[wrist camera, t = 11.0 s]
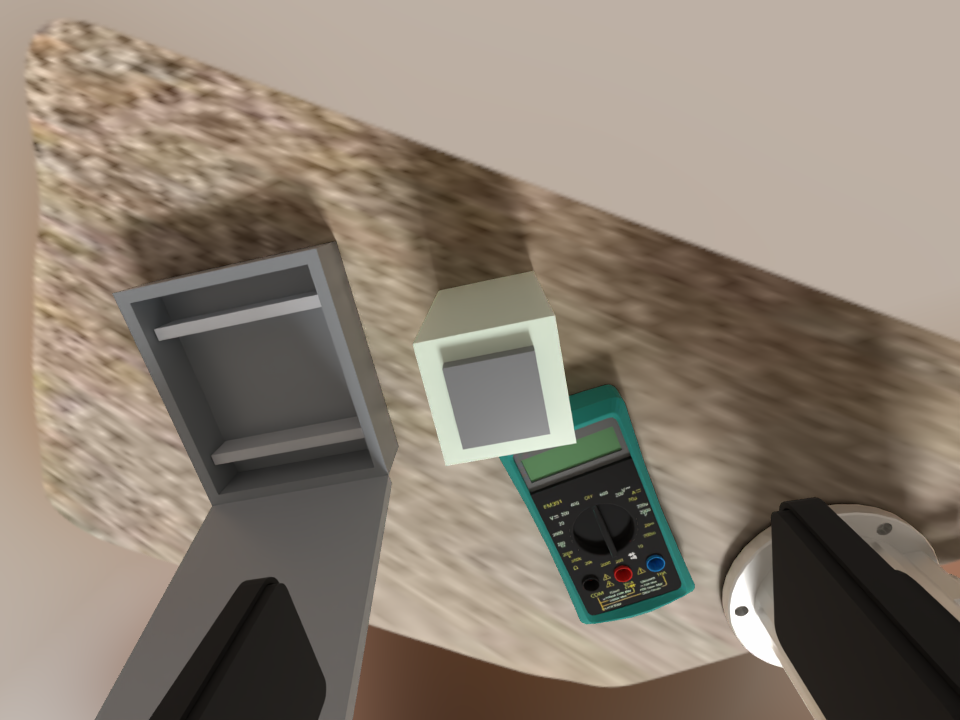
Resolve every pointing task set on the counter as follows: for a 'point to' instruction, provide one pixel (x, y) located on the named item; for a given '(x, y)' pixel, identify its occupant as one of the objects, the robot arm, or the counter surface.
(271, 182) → the counter surface
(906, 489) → the counter surface
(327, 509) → the lid
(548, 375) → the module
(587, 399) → the digital multimeter
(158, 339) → the case
